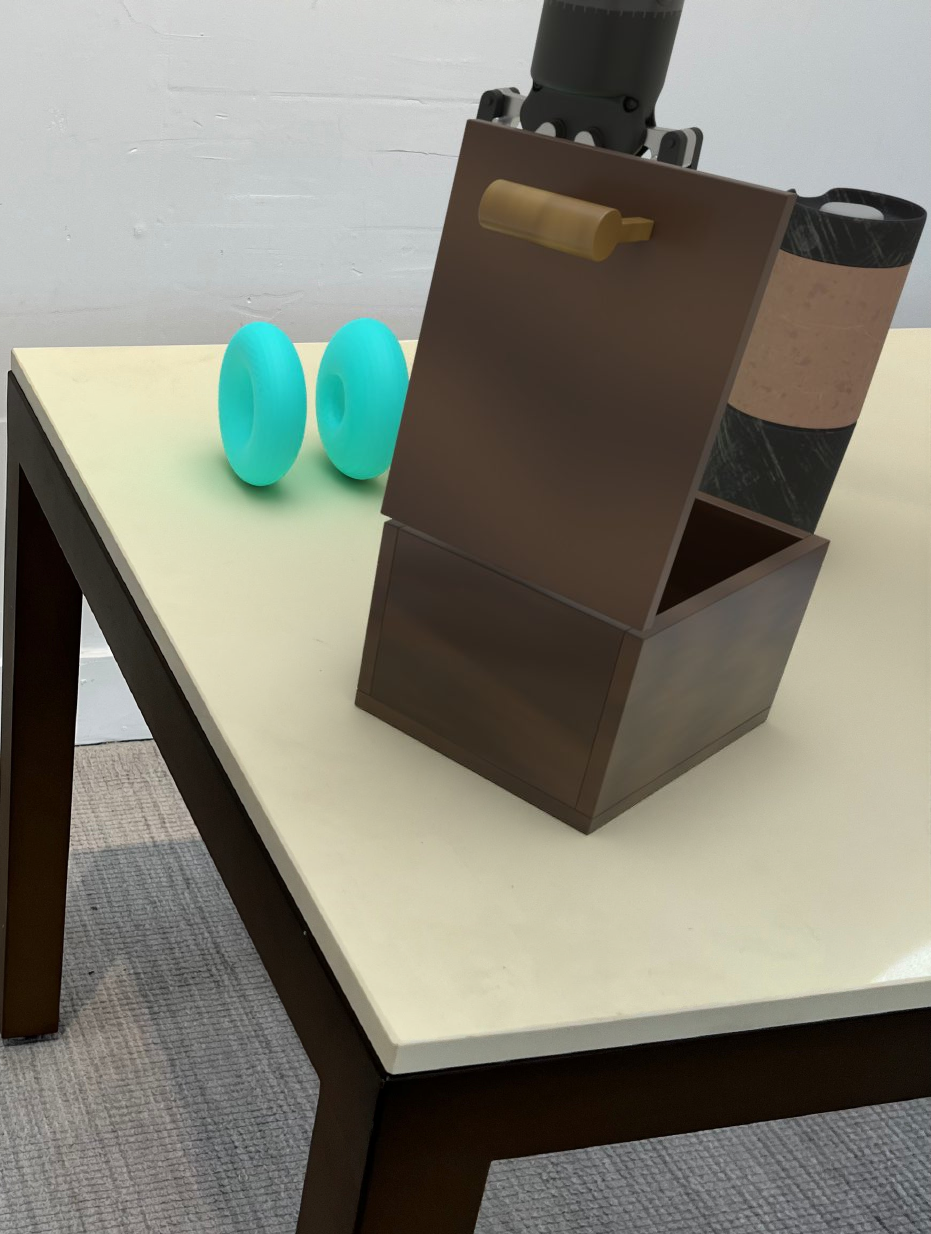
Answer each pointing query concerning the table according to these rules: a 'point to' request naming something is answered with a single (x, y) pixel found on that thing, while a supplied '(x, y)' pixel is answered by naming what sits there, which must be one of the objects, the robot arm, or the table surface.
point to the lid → (578, 360)
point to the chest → (586, 661)
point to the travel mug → (813, 353)
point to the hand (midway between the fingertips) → (549, 290)
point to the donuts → (345, 400)
